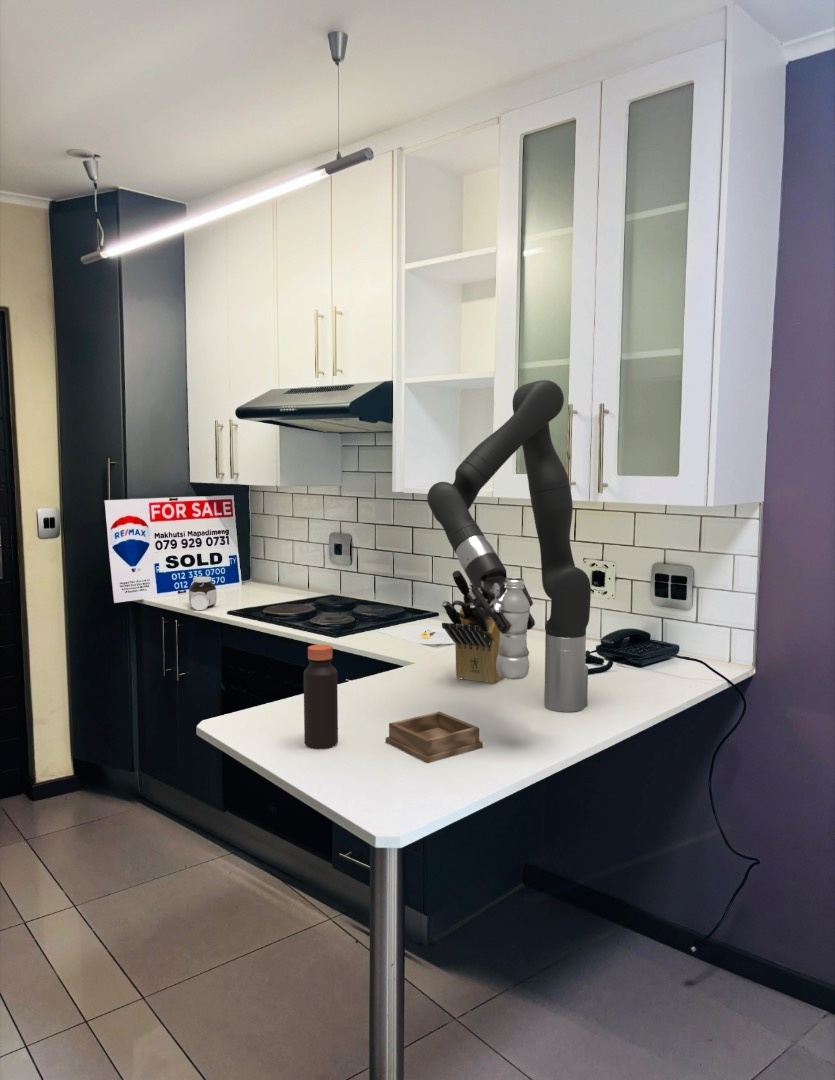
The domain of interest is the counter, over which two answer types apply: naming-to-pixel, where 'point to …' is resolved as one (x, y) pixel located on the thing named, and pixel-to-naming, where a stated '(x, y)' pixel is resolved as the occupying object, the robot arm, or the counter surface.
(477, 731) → the square wooden tray
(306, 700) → the vinegar
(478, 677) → the knife block
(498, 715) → the counter surface
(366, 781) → the counter surface
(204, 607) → the spread jar
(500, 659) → the silver metal bottle
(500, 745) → the counter surface
